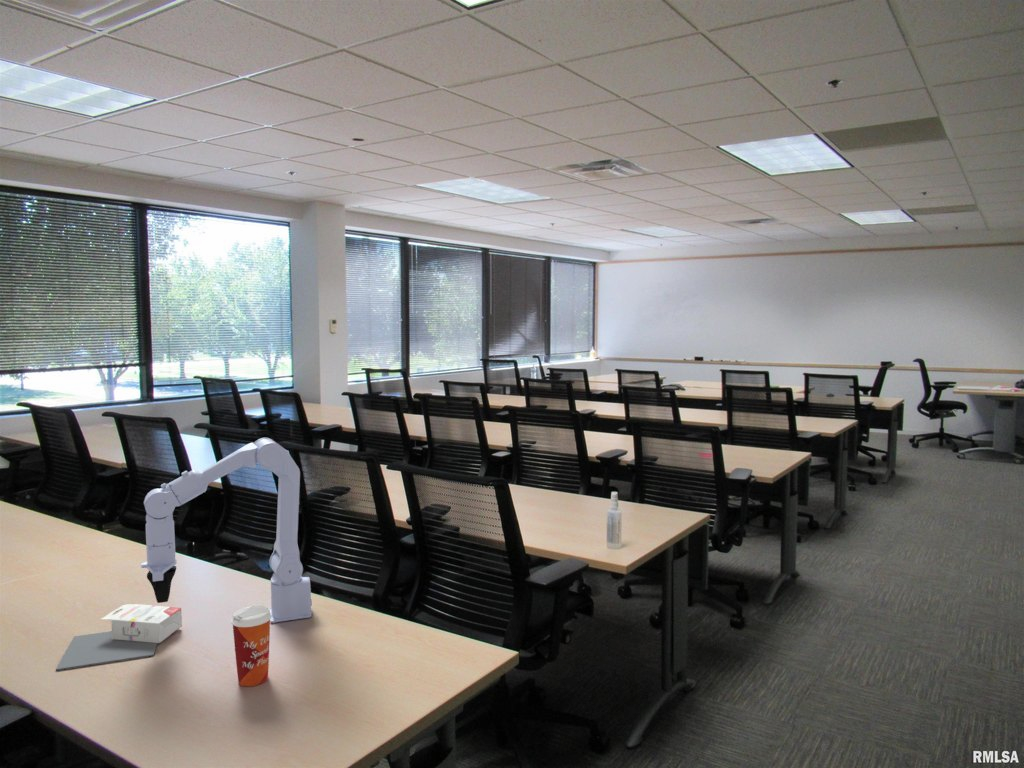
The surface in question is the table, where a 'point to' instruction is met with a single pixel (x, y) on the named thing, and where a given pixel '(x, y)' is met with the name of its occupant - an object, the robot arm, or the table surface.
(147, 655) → the mat
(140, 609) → the ink cartridge box
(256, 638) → the paper cup
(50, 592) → the table surface
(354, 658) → the table surface
